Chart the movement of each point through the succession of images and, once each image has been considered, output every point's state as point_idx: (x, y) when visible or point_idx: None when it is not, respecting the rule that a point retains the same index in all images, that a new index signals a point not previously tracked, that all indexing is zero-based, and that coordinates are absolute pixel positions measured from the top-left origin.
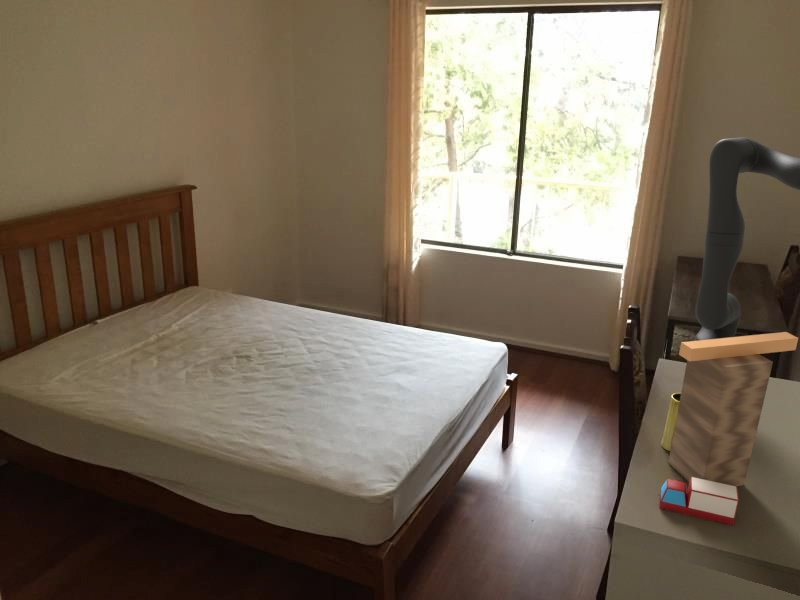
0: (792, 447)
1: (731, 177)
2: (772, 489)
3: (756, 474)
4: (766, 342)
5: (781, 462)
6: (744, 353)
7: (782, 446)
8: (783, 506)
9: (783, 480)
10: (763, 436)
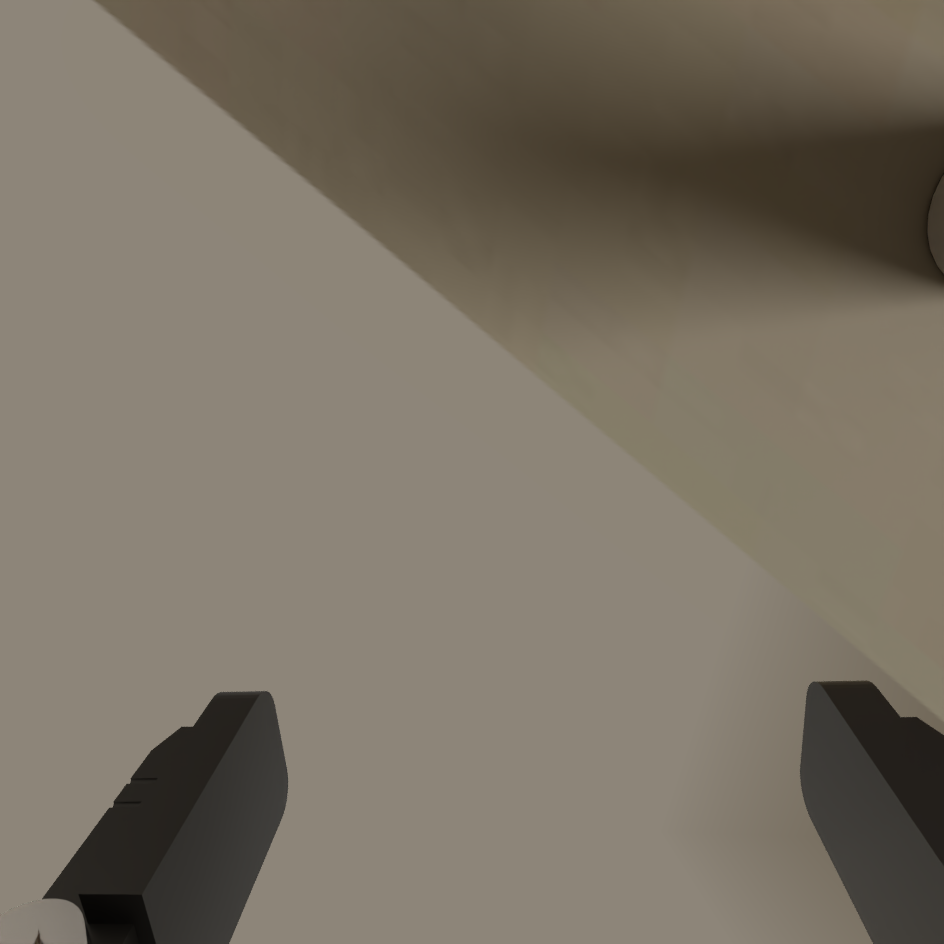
0: (536, 371)
1: None
2: (271, 49)
3: (377, 53)
4: None
5: (444, 239)
6: None
7: (551, 334)
8: (162, 11)
9: (326, 149)
10: (638, 308)
